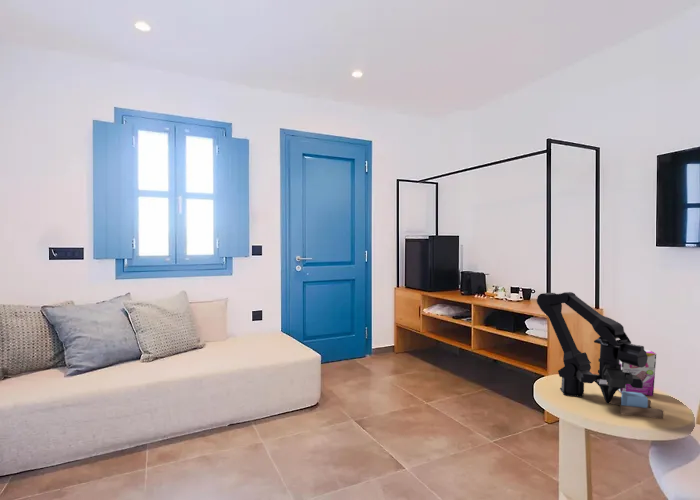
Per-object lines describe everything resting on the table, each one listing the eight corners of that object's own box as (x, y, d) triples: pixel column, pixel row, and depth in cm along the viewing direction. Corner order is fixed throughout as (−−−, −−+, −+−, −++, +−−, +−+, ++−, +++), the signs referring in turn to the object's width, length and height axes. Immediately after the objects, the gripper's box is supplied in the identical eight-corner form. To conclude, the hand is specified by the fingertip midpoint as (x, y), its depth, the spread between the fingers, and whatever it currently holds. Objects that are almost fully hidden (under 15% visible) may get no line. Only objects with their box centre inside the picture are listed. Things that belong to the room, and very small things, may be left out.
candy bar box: (620, 393, 150) (622, 350, 149) (615, 388, 155) (617, 347, 154) (654, 396, 147) (657, 353, 147) (647, 391, 152) (650, 349, 152)
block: (626, 412, 134) (627, 396, 134) (621, 406, 138) (621, 391, 138) (647, 414, 132) (647, 398, 132) (640, 408, 137) (641, 393, 137)
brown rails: (621, 413, 132) (621, 406, 132) (610, 402, 141) (610, 395, 141) (663, 418, 129) (663, 411, 129) (648, 406, 138) (649, 399, 138)
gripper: (587, 363, 131) (585, 409, 132) (652, 368, 127) (650, 416, 127) (576, 353, 142) (574, 396, 142) (636, 358, 137) (634, 402, 138)
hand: (607, 403), depth 137 cm, fingers closed
